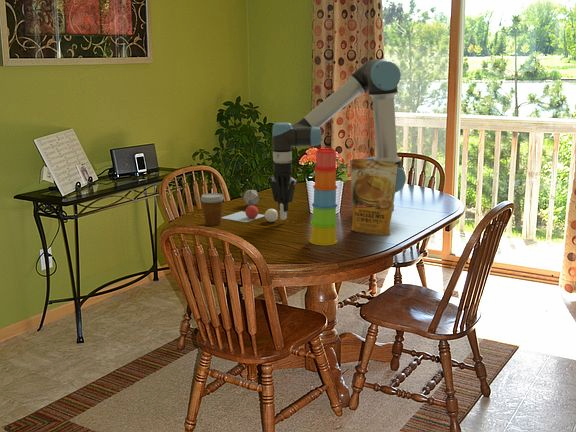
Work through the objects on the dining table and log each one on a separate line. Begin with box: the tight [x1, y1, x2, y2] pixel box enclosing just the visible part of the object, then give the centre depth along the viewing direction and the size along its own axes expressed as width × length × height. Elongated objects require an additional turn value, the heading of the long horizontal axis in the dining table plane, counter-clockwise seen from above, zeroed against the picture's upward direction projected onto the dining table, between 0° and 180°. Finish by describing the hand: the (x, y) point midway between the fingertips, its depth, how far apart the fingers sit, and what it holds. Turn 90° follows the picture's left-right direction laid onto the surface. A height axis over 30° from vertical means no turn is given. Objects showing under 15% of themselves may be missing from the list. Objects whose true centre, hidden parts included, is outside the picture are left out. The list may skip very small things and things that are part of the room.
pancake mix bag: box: [349, 158, 398, 237], centre depth 271 cm, size 7×19×28 cm, turn 58°
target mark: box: [221, 210, 265, 223], centre depth 302 cm, size 14×14×1 cm
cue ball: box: [264, 208, 279, 223], centre depth 292 cm, size 6×6×6 cm
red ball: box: [244, 205, 259, 218], centre depth 299 cm, size 6×6×6 cm
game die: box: [241, 188, 262, 208], centre depth 321 cm, size 9×8×10 cm
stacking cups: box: [309, 147, 338, 247], centre depth 258 cm, size 10×10×35 cm
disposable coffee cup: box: [200, 192, 225, 227], centre depth 290 cm, size 10×10×12 cm
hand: (283, 218), depth 290 cm, fingers closed
